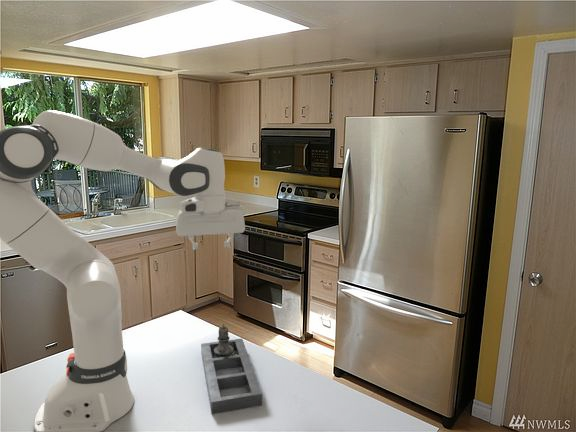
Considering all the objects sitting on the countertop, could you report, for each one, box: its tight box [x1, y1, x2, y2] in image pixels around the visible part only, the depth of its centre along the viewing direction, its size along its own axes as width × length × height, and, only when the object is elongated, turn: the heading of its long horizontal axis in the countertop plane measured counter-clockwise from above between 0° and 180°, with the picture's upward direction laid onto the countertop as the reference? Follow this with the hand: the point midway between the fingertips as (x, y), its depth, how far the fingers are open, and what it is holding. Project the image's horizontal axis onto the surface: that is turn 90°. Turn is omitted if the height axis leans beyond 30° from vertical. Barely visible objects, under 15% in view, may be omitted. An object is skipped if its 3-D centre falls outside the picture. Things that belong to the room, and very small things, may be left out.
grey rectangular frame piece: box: [200, 338, 263, 415], centre depth 120 cm, size 13×29×4 cm, turn 16°
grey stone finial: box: [214, 324, 234, 358], centre depth 127 cm, size 6×6×12 cm
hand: (211, 248), depth 126 cm, fingers open, 8 cm apart
